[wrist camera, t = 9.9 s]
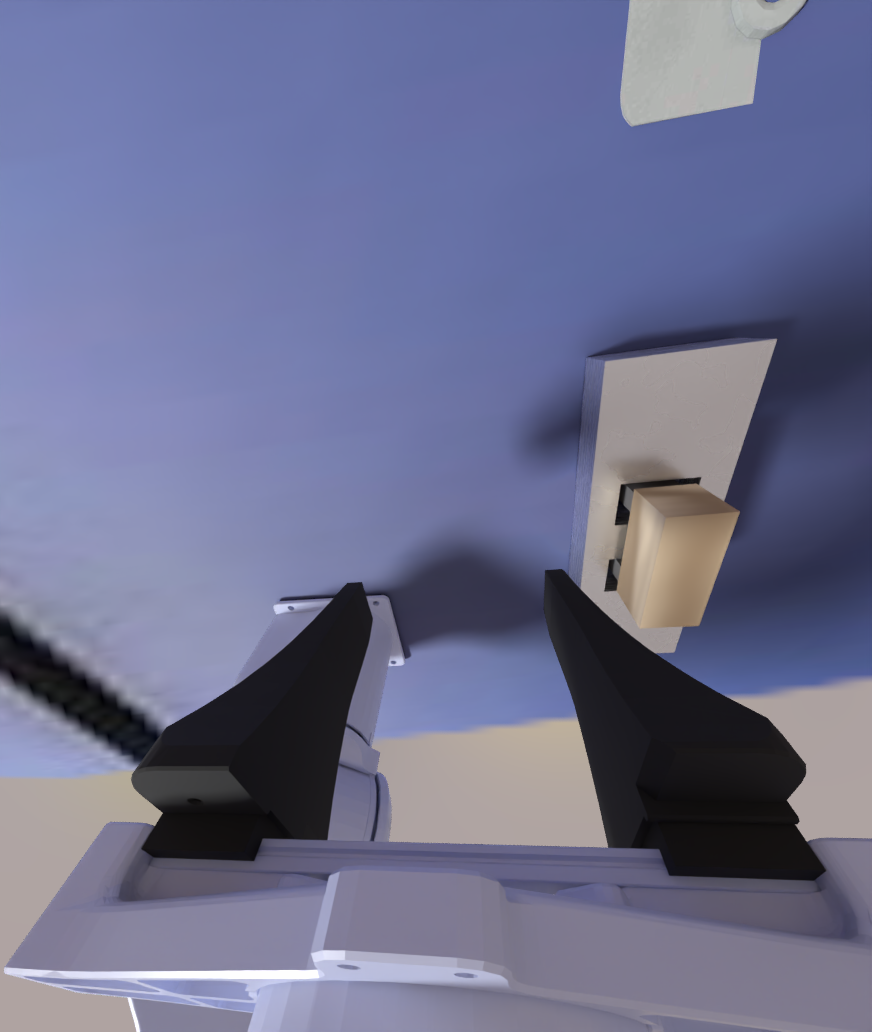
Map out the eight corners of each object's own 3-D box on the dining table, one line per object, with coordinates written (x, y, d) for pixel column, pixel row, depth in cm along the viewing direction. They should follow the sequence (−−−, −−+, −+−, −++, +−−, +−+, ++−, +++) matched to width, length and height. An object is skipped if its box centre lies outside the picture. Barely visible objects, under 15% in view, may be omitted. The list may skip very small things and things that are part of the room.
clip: (598, 561, 23) (639, 628, 18) (611, 468, 20) (666, 517, 15) (643, 558, 23) (698, 625, 18) (664, 462, 19) (739, 511, 14)
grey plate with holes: (563, 629, 27) (573, 656, 24) (586, 357, 17) (604, 361, 15) (656, 625, 26) (674, 652, 24) (734, 337, 16) (777, 338, 14)
